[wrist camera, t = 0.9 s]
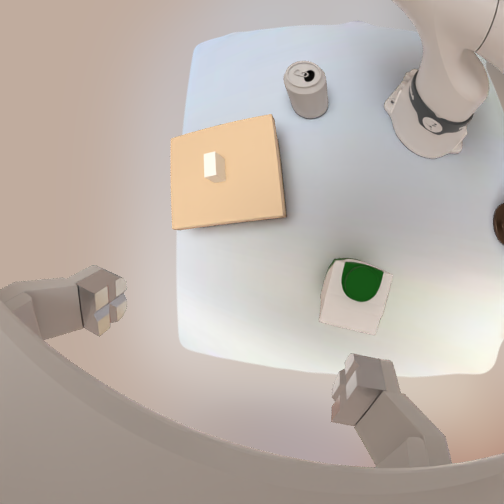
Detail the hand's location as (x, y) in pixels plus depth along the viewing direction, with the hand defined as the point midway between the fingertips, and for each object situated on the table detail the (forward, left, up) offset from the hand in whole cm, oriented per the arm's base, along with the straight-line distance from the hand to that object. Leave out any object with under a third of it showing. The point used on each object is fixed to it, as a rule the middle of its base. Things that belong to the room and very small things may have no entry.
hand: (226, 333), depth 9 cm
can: (-28, -16, -43) cm, 54 cm away
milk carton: (0, +7, -43) cm, 43 cm away
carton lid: (-6, -21, -36) cm, 42 cm away
